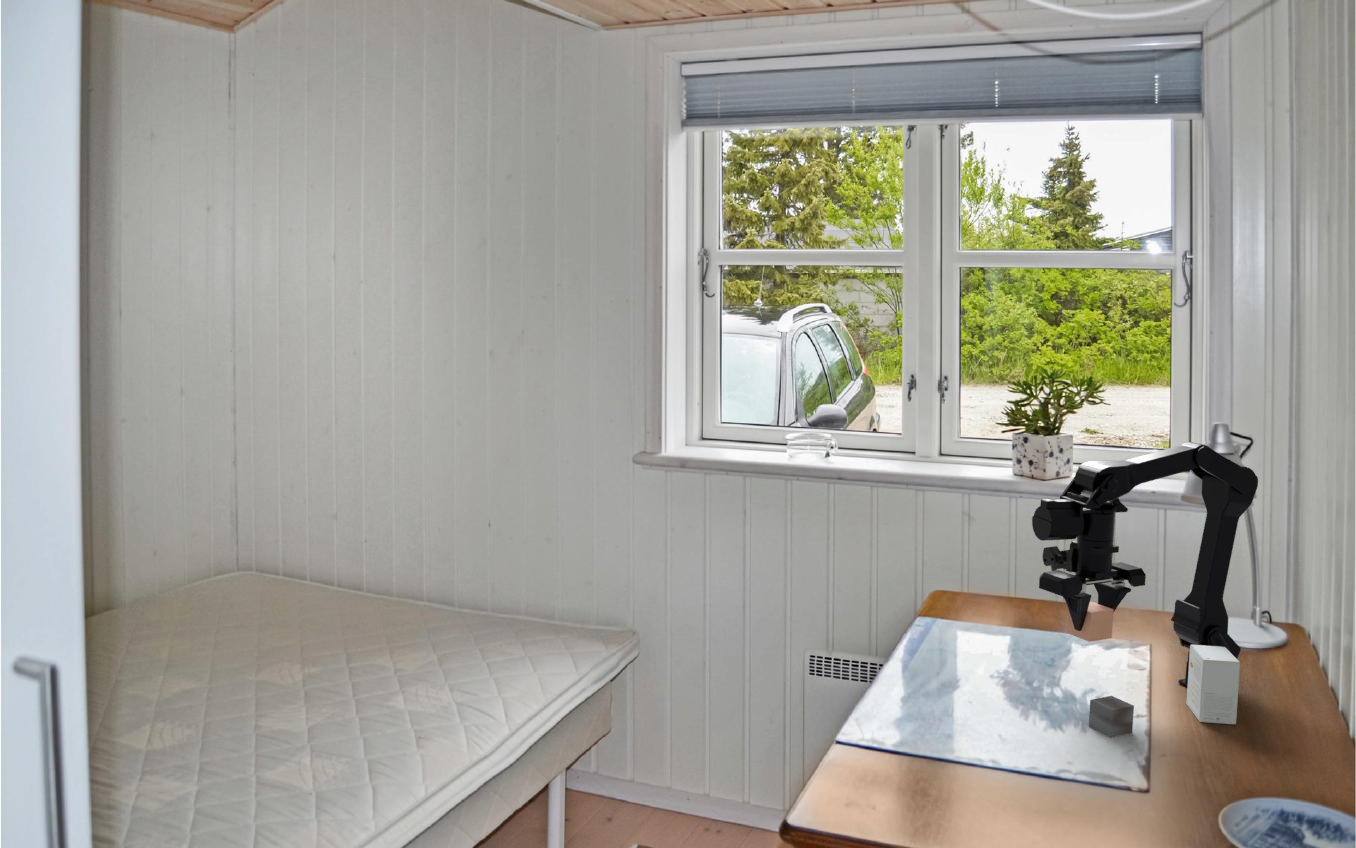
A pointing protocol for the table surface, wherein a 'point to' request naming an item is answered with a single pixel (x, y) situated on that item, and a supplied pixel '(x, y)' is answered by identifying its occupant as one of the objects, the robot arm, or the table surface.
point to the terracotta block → (1094, 623)
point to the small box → (1213, 684)
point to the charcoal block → (1111, 716)
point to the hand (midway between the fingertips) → (1089, 628)
